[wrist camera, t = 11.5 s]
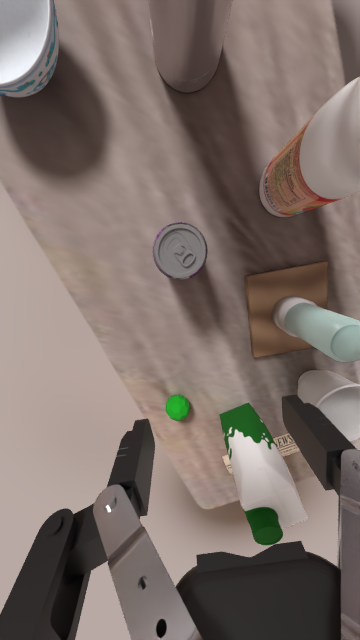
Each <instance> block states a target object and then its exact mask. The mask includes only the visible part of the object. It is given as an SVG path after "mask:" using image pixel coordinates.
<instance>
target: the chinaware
mask: <svg viewBox="0 0 360 640" xmlns="http://www.w3.org/2000/svg"><path fill="white" fill-rule="evenodd" d="M58 51H59V32H58V22H57V16H56V10H55V5H54V1H53V0H0V95H4V96H9V97H26V96H30V95H33V94H35V93H37V92H39V91H40V90H42V89H43V88H44V87H45V86H46V85H47V83H48V82H49V81H50V79H51V77H52V75H53V73H54V70H55V67H56V64H57V59H58Z"/></svg>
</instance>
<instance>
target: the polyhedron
mask: <svg viewBox="0 0 360 640" xmlns="http://www.w3.org/2000/svg"><path fill="white" fill-rule="evenodd" d="M189 409H190V406H189V402H188V401H187V399H186V398H185V397H184V396H182V395H174V396H171V397H170V398H169V399H168V401H167V403H166V413H167V414H168V415H169V417H170V418H171V419H173V420H176V421H180V420H183V419H185V418H186V417H187V415H188V413H189Z"/></svg>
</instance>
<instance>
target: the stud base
mask: <svg viewBox="0 0 360 640" xmlns="http://www.w3.org/2000/svg"><path fill="white" fill-rule="evenodd" d="M327 283H328V262H326V261H322V262H316V263H311V264H306V265H300V266H295V267H290V268H284V269H279V270H274V271H269V272H263V273H258V274H253V275H247V276H245V286H246V296H247V307H248V318H249V329H250V340H251V351H252V355H253V356H254V358H255V357H261V356H267V355H272V354H278V353H284V352H290V351H296V350H301V349H307V348H313V346H312V345H310V344H309V343H307V342H306V341H304V340H303V339H301V338H300V337H298V336H296V335H295V334H293V333H292V332H290V331H289V330H288V329H287V328H286V326H285V316H286V313H287V312H288V310H289V309H290V308H291V307H292V306H294V305H296V304H298V303H309V304H312V305H315V306H318V307H321V308H323V309H326V310H327Z"/></svg>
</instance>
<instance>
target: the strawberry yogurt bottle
mask: <svg viewBox="0 0 360 640" xmlns="http://www.w3.org/2000/svg"><path fill="white" fill-rule="evenodd" d="M359 192H360V77H358V78H356V79H355V80H353V81H352V82H350V83H349V84H347V85H346V86H345V87H343V88H342V89H341V90H340V91H339V92H337V93H336V94H335V95H334V96H333V97H332V98H331V99H330V100H329V101H327V102H326V103H325V104H324V105H323V106H322V107H321V108H320V110H319V111H318V112H317V113H316V114H315V115H314V116H313V117H312V118H311V119H310V120H309V121H308V122H307V123H306V124H305V125H304V126H303V127H302V128H301V129H300V131H299V132H298V133H297V134H296V135H295V136H294V137H293V138H292V139H291V140H290V141H289V142H288V143H287V144H286V145H285V146H284V147H283V148H282V149H281V150H280V151H279V152H278V153H277V154H276V155H275V156H274V157H273V158H272V160H271V161H270V162H269V163H268V165H267V166H266V168H265V170H264V171H263V174H262V176H261V180H260V185H259V194H260V199H261V202H262V204H263V206H264V207H265V209H266V210H267V211H268V212H270V213H271V214H273V215H275V216H278V217H291V216H295V215H298V214H301V213H303V212H306V211H309V210H312V209H315V208H317V207H320V206H323V205H326V204H329V203H331V202H334V201H337V200H340V199H343V198H346V197H349V196H352V195H354V194H357V193H359Z"/></svg>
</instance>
